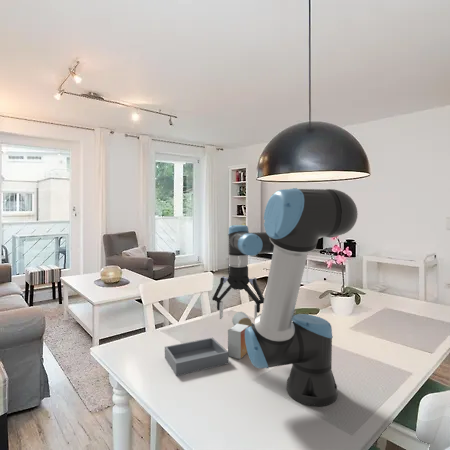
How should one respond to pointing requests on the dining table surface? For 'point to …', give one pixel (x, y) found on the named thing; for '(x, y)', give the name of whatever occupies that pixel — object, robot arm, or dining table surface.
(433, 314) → the dining table surface
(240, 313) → the ceramic mug
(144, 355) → the dining table surface
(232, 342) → the small box
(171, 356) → the bin
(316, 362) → the robot arm
